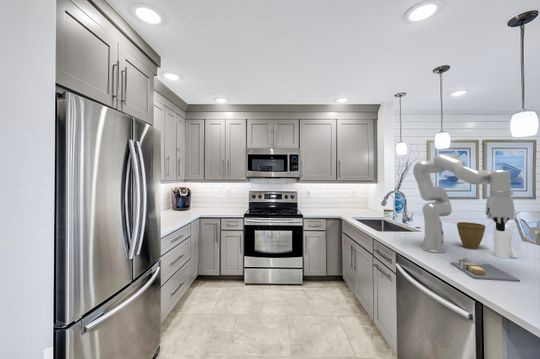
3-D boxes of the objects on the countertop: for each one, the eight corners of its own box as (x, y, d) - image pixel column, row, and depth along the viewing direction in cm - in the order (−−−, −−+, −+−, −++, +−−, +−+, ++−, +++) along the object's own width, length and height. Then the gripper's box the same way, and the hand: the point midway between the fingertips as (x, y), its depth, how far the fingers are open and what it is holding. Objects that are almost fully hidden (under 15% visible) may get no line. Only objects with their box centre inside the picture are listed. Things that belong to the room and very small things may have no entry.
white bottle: (521, 260, 134) (518, 216, 135) (492, 257, 140) (489, 215, 141) (516, 257, 140) (513, 215, 140) (489, 254, 146) (486, 214, 147)
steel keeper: (460, 269, 123) (460, 261, 123) (479, 270, 121) (479, 262, 121) (463, 271, 120) (463, 263, 120) (482, 272, 118) (482, 264, 118)
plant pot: (456, 248, 159) (456, 224, 159) (457, 243, 170) (457, 221, 170) (486, 252, 149) (486, 227, 149) (485, 246, 160) (485, 223, 160)
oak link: (458, 263, 129) (458, 256, 129) (467, 263, 128) (467, 257, 128) (475, 274, 114) (475, 267, 114) (485, 274, 113) (485, 267, 113)
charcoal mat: (450, 263, 131) (450, 262, 131) (489, 265, 127) (489, 264, 127) (473, 278, 112) (473, 277, 112) (520, 281, 108) (520, 280, 108)
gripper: (511, 194, 121) (512, 229, 121) (478, 194, 124) (478, 228, 124) (524, 195, 113) (524, 233, 113) (488, 195, 116) (488, 232, 116)
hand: (500, 230), depth 119 cm, fingers closed
